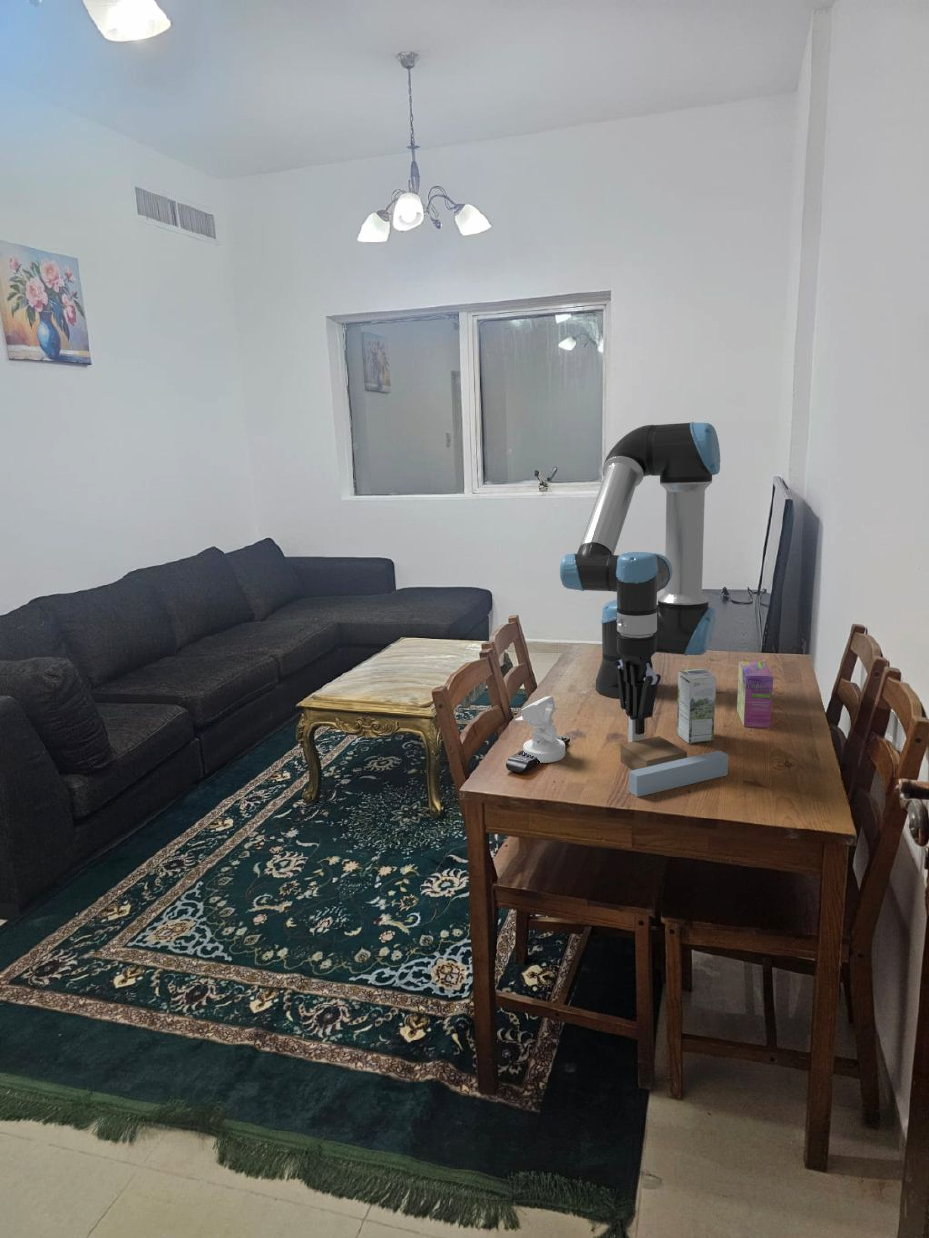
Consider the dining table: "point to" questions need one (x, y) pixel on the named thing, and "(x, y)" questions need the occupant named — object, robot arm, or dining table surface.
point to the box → (754, 694)
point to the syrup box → (696, 705)
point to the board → (678, 773)
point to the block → (650, 752)
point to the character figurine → (542, 731)
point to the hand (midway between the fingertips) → (636, 747)
